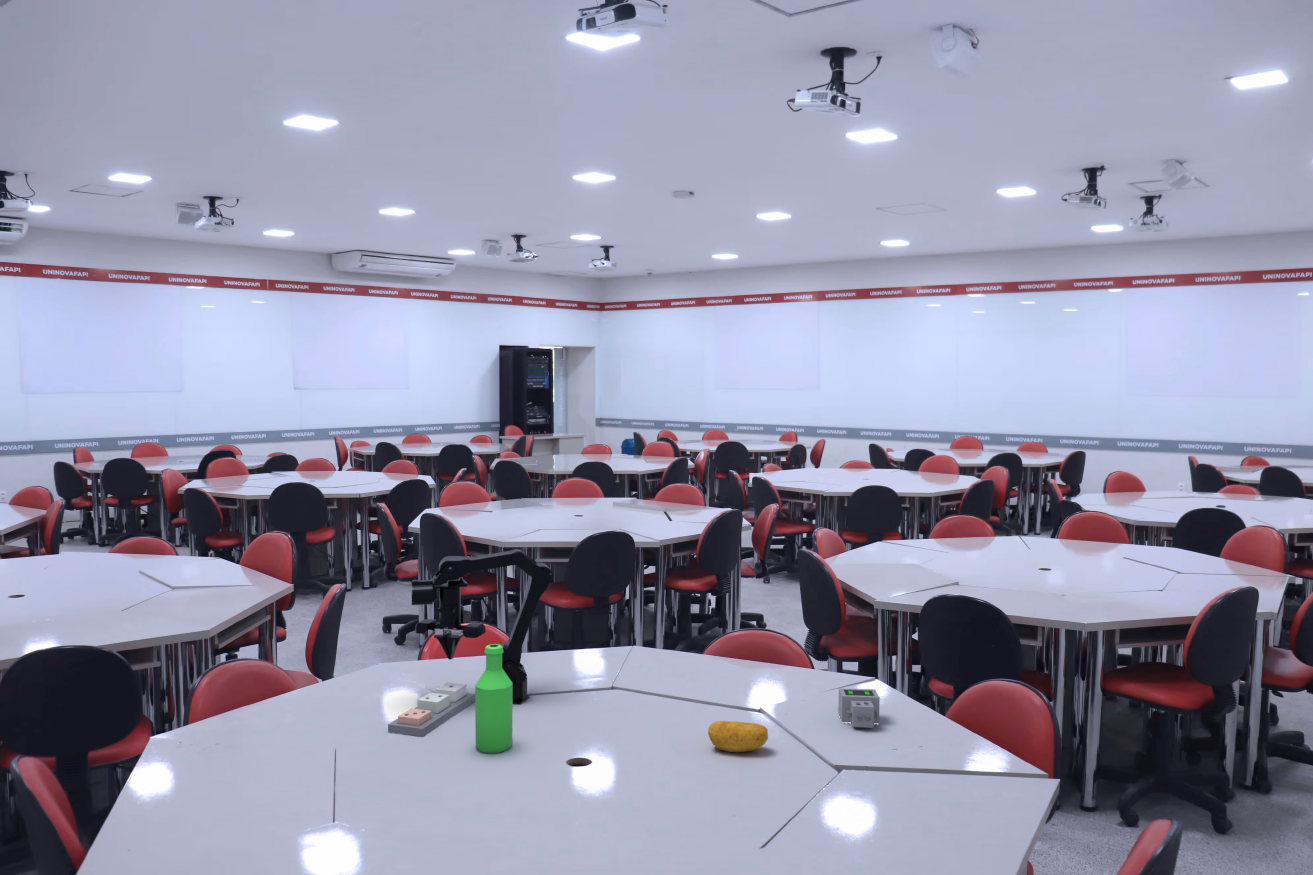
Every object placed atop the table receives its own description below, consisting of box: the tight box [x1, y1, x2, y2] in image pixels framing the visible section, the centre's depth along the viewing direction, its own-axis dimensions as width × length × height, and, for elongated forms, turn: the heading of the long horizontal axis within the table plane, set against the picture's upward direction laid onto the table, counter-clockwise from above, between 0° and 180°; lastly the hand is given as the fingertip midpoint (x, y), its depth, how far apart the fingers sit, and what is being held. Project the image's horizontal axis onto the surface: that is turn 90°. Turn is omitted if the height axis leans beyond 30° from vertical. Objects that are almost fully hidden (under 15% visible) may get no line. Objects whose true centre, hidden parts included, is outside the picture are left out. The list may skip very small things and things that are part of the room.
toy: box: [837, 687, 881, 729], centre depth 227 cm, size 10×8×15 cm
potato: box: [707, 720, 769, 753], centre depth 208 cm, size 7×14×7 cm, turn 81°
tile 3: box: [397, 707, 432, 726], centre depth 220 cm, size 6×6×3 cm
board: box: [387, 692, 475, 737], centre depth 229 cm, size 10×27×2 cm, turn 163°
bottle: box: [474, 643, 514, 754], centre depth 208 cm, size 9×9×25 cm
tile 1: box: [435, 681, 467, 703], centre depth 238 cm, size 6×6×3 cm
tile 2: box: [417, 692, 450, 714], centre depth 229 cm, size 6×6×3 cm
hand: (450, 658), depth 237 cm, fingers closed
